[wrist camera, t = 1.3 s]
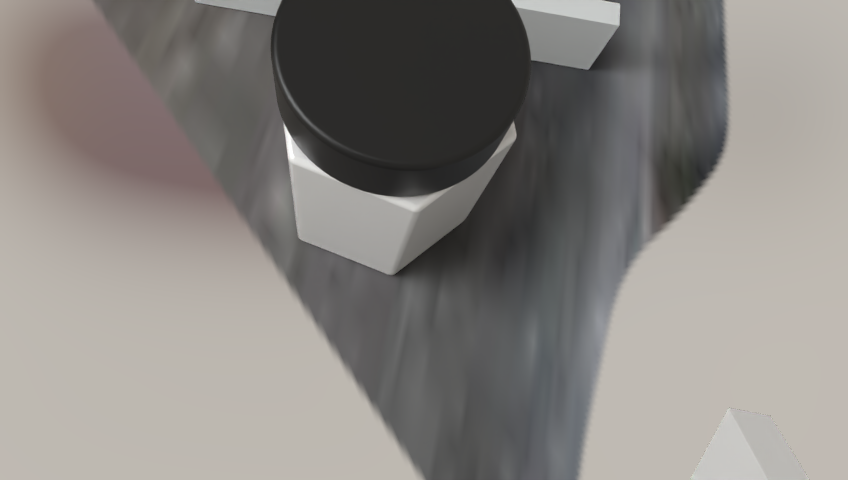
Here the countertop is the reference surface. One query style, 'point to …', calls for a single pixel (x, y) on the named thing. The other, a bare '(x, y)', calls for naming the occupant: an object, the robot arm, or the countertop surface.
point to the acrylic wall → (528, 26)
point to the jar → (395, 117)
